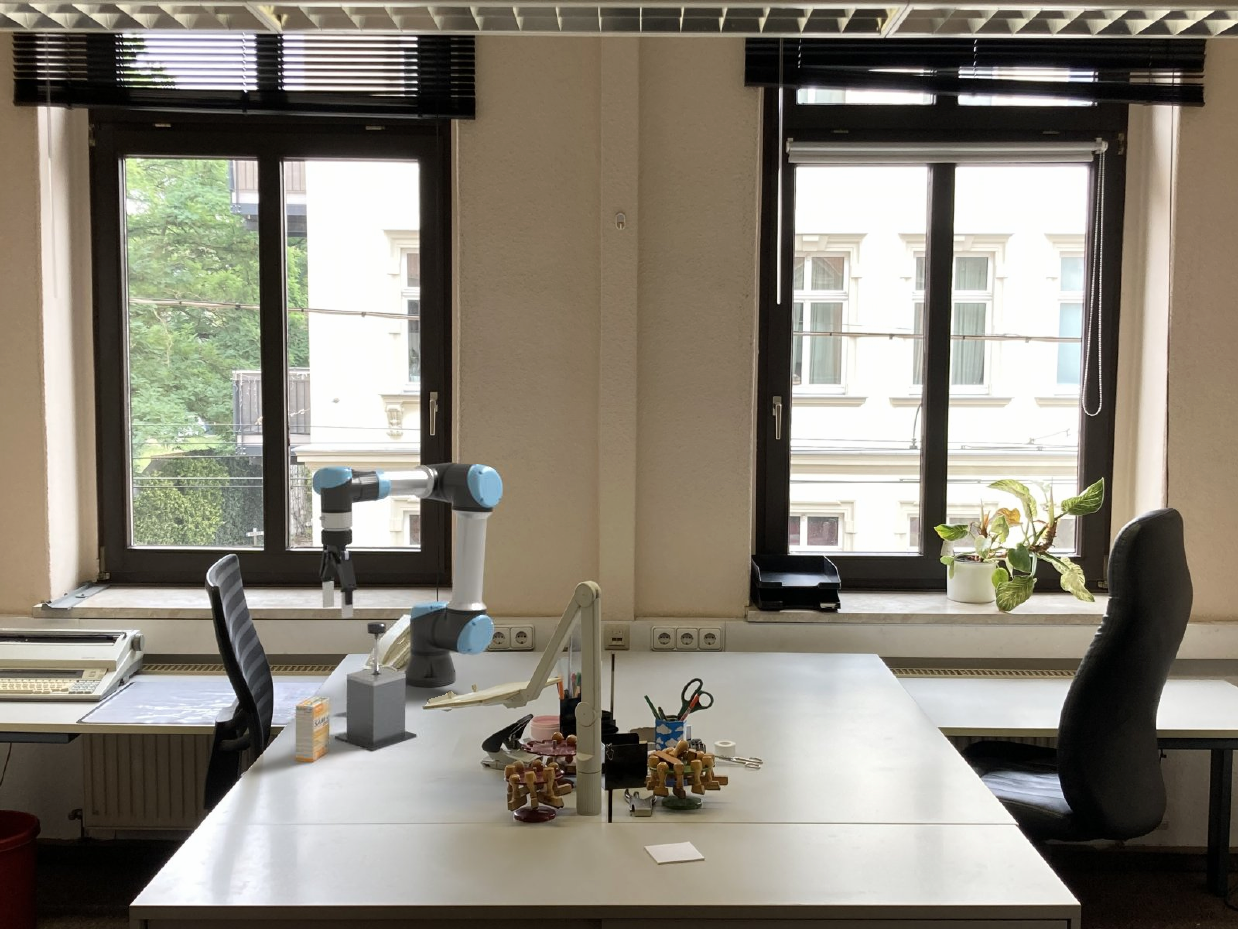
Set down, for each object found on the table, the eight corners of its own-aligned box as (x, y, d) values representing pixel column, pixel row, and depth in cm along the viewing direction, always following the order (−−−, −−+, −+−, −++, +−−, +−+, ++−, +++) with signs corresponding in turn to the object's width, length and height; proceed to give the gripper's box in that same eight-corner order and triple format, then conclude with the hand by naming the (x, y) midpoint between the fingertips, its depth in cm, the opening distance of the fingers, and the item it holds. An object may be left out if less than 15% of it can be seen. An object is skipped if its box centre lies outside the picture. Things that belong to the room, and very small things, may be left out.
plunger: (378, 676, 269) (378, 619, 268) (397, 682, 265) (397, 623, 264) (355, 682, 263) (355, 624, 262) (374, 688, 259) (374, 628, 258)
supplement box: (313, 762, 247) (314, 707, 246) (294, 761, 248) (294, 705, 247) (330, 751, 255) (330, 697, 254) (311, 749, 256) (311, 695, 255)
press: (376, 724, 275) (377, 663, 274) (416, 736, 266) (417, 673, 265) (332, 737, 264) (332, 674, 263) (372, 751, 255) (372, 685, 254)
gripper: (305, 523, 276) (306, 604, 278) (339, 536, 256) (340, 623, 258) (333, 521, 280) (334, 601, 282) (369, 533, 260) (370, 620, 262)
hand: (337, 612), depth 270 cm, fingers open, 13 cm apart
